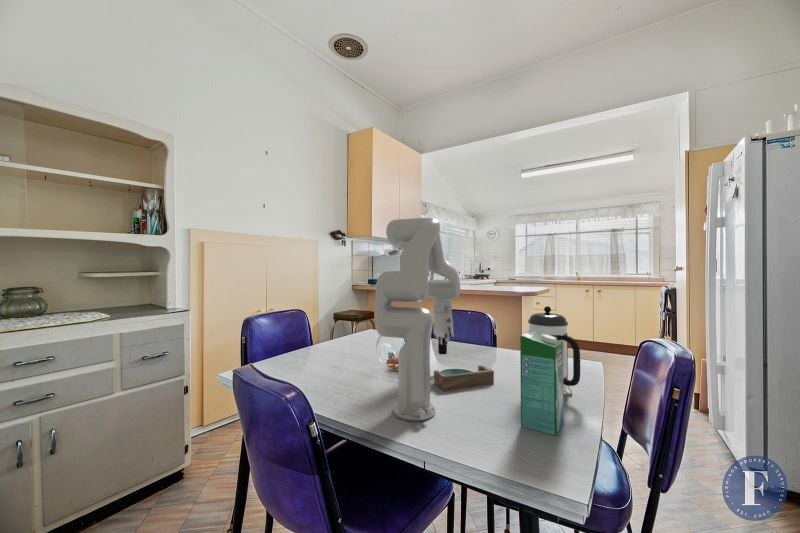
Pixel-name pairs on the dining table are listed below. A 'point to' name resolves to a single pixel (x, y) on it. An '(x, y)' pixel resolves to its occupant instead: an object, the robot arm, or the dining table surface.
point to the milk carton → (541, 382)
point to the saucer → (454, 371)
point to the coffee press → (558, 329)
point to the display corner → (464, 379)
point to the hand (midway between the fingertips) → (442, 353)
